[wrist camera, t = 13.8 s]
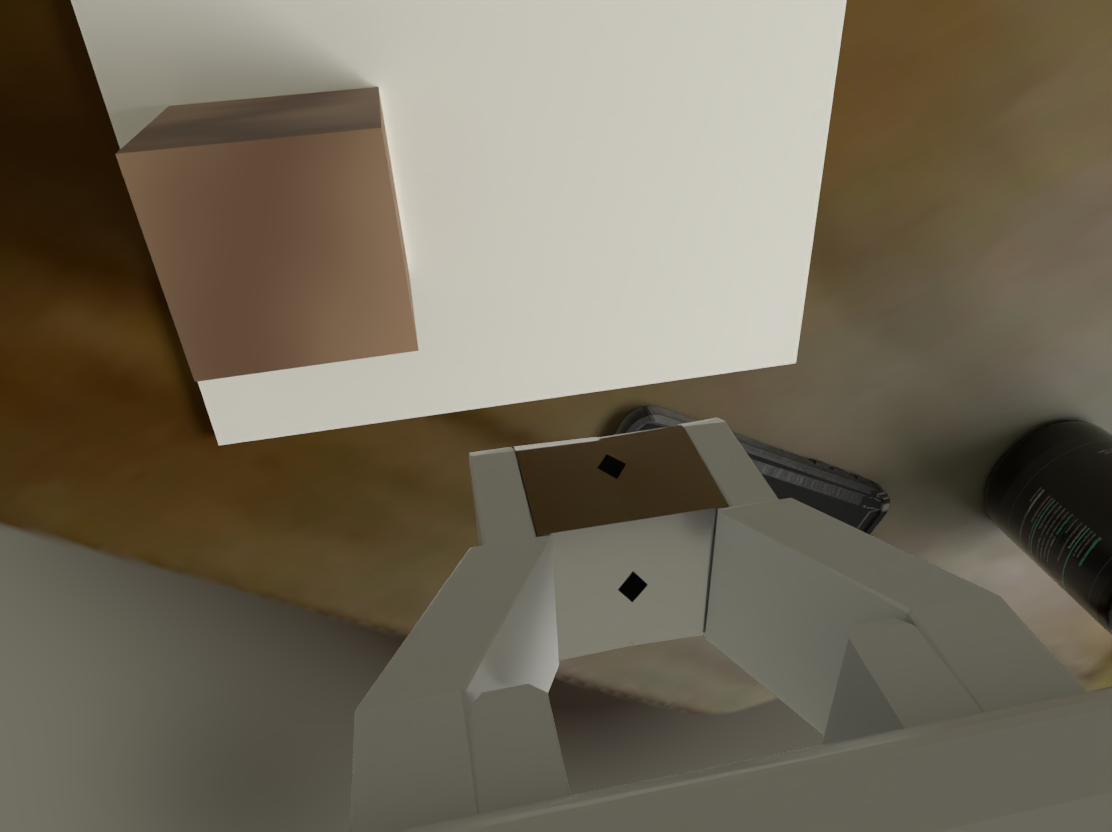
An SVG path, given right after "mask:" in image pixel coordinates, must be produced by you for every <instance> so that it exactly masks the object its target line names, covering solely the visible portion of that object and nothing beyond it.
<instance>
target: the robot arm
mask: <svg viewBox="0 0 1112 832" xmlns="http://www.w3.org/2000/svg"><path fill="white" fill-rule="evenodd" d="M469 464H470V472H471V480H472V488H473V497H474V505H475V513H476V521H477V530H478V538H479V546H477V547H471V548H469V550H468V551H467V552H466V554H465V555H464V557H463V558H462V560H461V561H460V562H459V564H458V565H457V567H456V568H455V569H454V571H453V572H452V574H451V575H450V577H449V578H448V579H447V581H446V582H445V584H444V585H443V587H442V588H441V589H440V591H439V592H438V594H437V595H436V596H435V598H434V599H433V601H432V602H431V604H430V605H429V606H428V608H427V609H426V611H425V612H424V614H423V615H422V616H421V618H420V619H419V621H418V622H417V623H416V625H415V626H414V628H413V629H412V631H411V632H410V633H409V635H408V636H407V638H406V639H405V641H404V642H403V644H402V645H401V646H400V648H399V649H398V650H397V652H396V654H395V655H394V656H393V658H392V659H391V661H390V662H389V663H388V665H387V666H386V668H385V669H384V670H383V672H382V673H381V675H380V676H379V678H378V679H377V680H376V682H375V683H374V685H373V686H372V687H371V689H370V690H369V692H368V693H367V695H366V696H365V697H364V699H363V700H362V702H361V703H360V705H359V706H358V707H357V709H356V710H355V723H354V725H355V726H354V748H353V773H352V799H351V823H350V832H1112V687H1107V688H1102V689H1097V690H1092V691H1087V692H1086V691H1085V690H1084V688H1083V687H1082V686H1081V685H1080V684H1079V683H1078V682H1077V681H1076V680H1075V679H1074V677H1073V676H1072V675H1071V674H1070V673H1069V672H1068V671H1067V670H1066V669H1065V667H1064V666H1063V665H1062V664H1061V663H1060V662H1059V661H1058V660H1057V659H1056V658H1055V656H1054V655H1053V654H1052V653H1051V652H1050V651H1049V650H1048V649H1047V648H1046V646H1045V645H1044V644H1043V643H1042V642H1041V641H1040V640H1039V639H1038V638H1037V637H1036V635H1035V634H1034V633H1033V632H1032V631H1031V630H1030V629H1029V628H1028V627H1027V625H1026V624H1025V623H1024V622H1023V621H1022V620H1021V619H1020V618H1019V617H1018V616H1017V614H1016V613H1015V612H1014V611H1013V610H1012V609H1011V608H1010V607H1009V606H1008V604H1007V603H1006V602H1005V601H1004V600H1003V599H1002V598H1001V597H1000V596H998V595H996V594H994V593H992V592H990V591H988V590H986V589H984V588H982V587H979V586H977V585H975V584H973V583H971V582H969V581H967V580H965V579H962V578H960V577H958V576H956V575H954V574H952V573H950V572H948V571H945V570H943V569H941V568H939V567H937V566H935V565H933V564H931V563H929V562H926V561H924V560H922V559H920V558H918V557H916V556H914V555H912V554H909V553H907V552H905V551H903V550H901V549H899V548H897V547H895V546H892V545H890V544H888V543H886V542H884V541H882V540H880V539H878V538H876V537H873V536H871V535H869V534H867V533H865V532H863V531H861V530H859V529H856V528H854V527H852V526H850V525H848V524H846V523H844V522H842V521H839V520H837V519H835V518H833V517H831V516H829V515H827V514H825V513H823V512H820V511H818V510H816V509H814V508H812V507H810V506H808V505H806V504H803V503H801V502H799V501H797V500H795V499H793V498H786V499H778V498H777V496H776V495H775V493H774V492H773V490H772V489H771V487H770V486H769V485H768V483H767V482H766V480H765V479H764V477H763V476H762V474H761V473H760V472H759V470H758V469H757V467H756V466H755V464H754V463H753V461H752V460H751V459H750V457H749V456H748V454H747V453H746V451H745V450H744V448H743V447H742V446H741V444H740V443H739V441H738V440H737V438H736V437H735V435H734V434H733V433H732V431H731V430H730V428H729V427H728V425H727V424H726V422H725V421H723V420H721V419H719V418H712V419H707V420H701V421H695V422H689V423H683V424H678V425H677V426H671V427H665V428H658V429H652V430H645V431H638V432H632V433H625V434H619V435H612V436H605V437H599V438H598V437H591V438H583V439H574V440H566V441H557V442H549V443H540V444H532V445H523V446H515V447H513V449H512V448H511V447H507V448H499V449H492V450H485V451H478V452H471V453H469ZM699 635H705V639H707V640H708V641H709V642H710V643H712V644H713V645H714V646H715V647H716V648H718V649H719V650H720V651H721V652H723V653H724V654H725V655H726V656H727V657H729V658H730V659H731V660H732V661H734V662H735V663H736V664H737V665H738V666H740V667H741V668H742V669H743V670H745V671H746V672H747V673H748V674H749V675H751V676H752V677H753V678H754V679H756V680H757V681H758V682H759V683H760V684H762V685H763V686H764V687H765V688H767V689H768V690H769V691H770V692H771V693H773V694H774V695H775V696H776V697H778V698H779V699H780V700H781V701H783V702H784V703H785V704H786V705H787V706H789V707H790V708H791V709H792V710H794V711H795V712H796V713H797V714H798V715H800V716H801V717H802V718H803V719H805V720H806V721H807V722H808V723H809V724H811V725H812V726H813V727H814V728H816V729H817V730H818V731H819V732H821V733H822V734H823V735H824V738H823V742H822V745H820V746H815V747H810V748H805V749H800V750H795V751H791V752H785V753H780V754H775V755H770V756H765V757H760V758H756V759H750V760H745V761H741V762H736V763H731V764H726V765H721V766H716V767H711V768H706V769H701V770H696V771H692V772H686V773H681V774H676V775H671V776H666V777H661V778H657V779H651V780H646V781H642V782H636V783H631V784H626V785H621V786H616V787H611V788H607V789H601V790H596V791H592V792H587V793H582V794H577V795H572V796H571V795H570V791H569V786H568V782H567V777H566V773H565V769H564V764H563V759H562V755H561V751H560V746H559V742H558V738H557V733H556V729H555V724H554V720H553V715H552V711H551V706H550V702H549V698H548V691H549V689H550V686H551V684H552V681H553V679H554V676H555V674H556V671H557V669H558V666H559V660H564V659H569V658H573V657H578V656H583V655H588V654H593V653H598V652H603V651H607V650H612V649H617V648H622V647H627V646H631V645H639V644H646V643H652V642H659V641H666V640H672V639H679V638H686V637H692V636H699Z"/></svg>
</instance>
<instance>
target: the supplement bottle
mask: <svg viewBox="0 0 1112 832" xmlns="http://www.w3.org/2000/svg"><path fill="white" fill-rule="evenodd" d="M985 505H986V509H987V512H988V515H989V517H990V518H991V520H992V521H993V522H994V523H995V524H996V525H997V526H998V527H999V528H1000V529H1001V530H1002V531H1003V532H1004V533H1005V534H1006V535H1007V536H1008V537H1009V538H1010V539H1011V540H1012V541H1013V542H1014V543H1015V544H1016V545H1017V546H1018V547H1019V548H1020V549H1021V550H1022V551H1023V552H1025V553H1026V554H1027V555H1028V556H1029V557H1030V558H1031V559H1032V560H1033V561H1034V562H1035V563H1036V564H1037V565H1038V566H1039V567H1040V568H1041V569H1042V570H1044V571H1045V572H1046V573H1047V574H1048V575H1049V576H1050V577H1051V578H1052V579H1053V580H1054V581H1055V582H1056V583H1057V584H1058V585H1059V586H1060V587H1061V588H1063V589H1064V590H1065V591H1066V592H1067V593H1068V594H1069V595H1070V596H1071V597H1072V598H1073V599H1074V600H1075V601H1076V602H1077V603H1078V604H1079V605H1080V606H1082V607H1083V608H1084V609H1085V610H1086V611H1087V612H1088V613H1089V614H1090V615H1091V616H1092V617H1093V618H1094V619H1095V620H1096V621H1097V622H1098V623H1099V624H1101V625H1102V626H1103V627H1104V628H1105V629H1106V630H1107V631H1108V632H1109V633H1111V634H1112V435H1111V434H1110V433H1108V432H1107V431H1105V430H1104V429H1102V428H1100V427H1098V426H1096V425H1094V424H1091V423H1088V422H1082V421H1066V422H1060V423H1055V424H1052V425H1049V426H1046V427H1043V428H1041V429H1039V430H1037V431H1035V432H1033V433H1031V434H1030V435H1028V436H1026V437H1025V438H1023V439H1022V440H1021V441H1019V442H1018V443H1017V444H1015V445H1014V446H1013V447H1012V448H1011V449H1010V450H1009V451H1008V452H1007V453H1006V454H1005V455H1004V456H1003V457H1002V459H1001V460H1000V461H999V462H998V464H997V465H996V467H995V468H994V470H993V472H992V474H991V476H990V478H989V480H988V483H987V487H986V491H985Z"/></svg>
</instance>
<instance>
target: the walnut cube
mask: <svg viewBox="0 0 1112 832" xmlns="http://www.w3.org/2000/svg"><path fill="white" fill-rule="evenodd" d="M115 155H116V157H117V160H118V163H119V166H120V169H121V172H122V175H123V178H124V180H125V183H126V186H127V189H128V192H129V195H130V198H131V201H132V203H133V206H134V209H135V212H136V215H137V218H138V221H139V223H140V226H141V229H142V232H143V235H144V238H145V241H146V244H147V246H148V249H149V252H150V255H151V258H152V261H153V264H154V266H155V269H156V272H157V275H158V278H159V281H160V284H161V287H162V289H163V292H164V295H165V298H166V301H167V304H168V307H169V310H170V312H171V315H172V318H173V321H174V324H175V327H176V330H177V332H178V335H179V338H180V341H181V344H182V347H183V350H184V353H185V355H186V358H187V361H188V364H189V367H190V370H191V373H192V375H193V378H194V381H195V382H198V381H205V380H212V379H219V378H226V377H233V376H241V375H248V374H255V373H262V372H269V371H276V370H283V369H291V368H298V367H305V366H312V365H319V364H326V363H334V362H341V361H348V360H355V359H362V358H369V357H376V356H384V355H391V354H398V353H405V352H412V351H419V350H418V342H417V334H416V326H415V318H414V310H413V302H412V294H411V285H410V277H409V270H408V264H407V258H406V252H405V246H404V240H403V234H402V228H401V222H400V216H399V209H398V203H397V197H396V191H395V185H394V179H393V173H392V167H391V161H390V155H389V148H388V142H387V136H386V130H385V124H384V118H383V112H382V106H381V100H380V93H379V87H366V88H355V89H344V90H333V91H322V92H311V93H300V94H289V95H278V96H267V97H256V98H245V99H234V100H223V101H212V102H201V103H190V104H179V105H173V106H168V107H167V108H166V109H165V110H164V111H163V112H162V113H160V114H159V115H158V116H157V117H156V118H155V119H154V120H153V121H151V122H150V123H149V124H148V125H147V126H146V127H145V128H144V129H143V130H141V131H140V132H139V133H138V134H137V135H136V136H135V137H134V138H132V139H131V140H130V141H129V142H128V143H127V144H126V145H125V146H124V147H122V148H121V149H120V150H119V151H118V152H117V153H116V154H115Z"/></svg>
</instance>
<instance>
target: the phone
mask: <svg viewBox="0 0 1112 832" xmlns="http://www.w3.org/2000/svg"><path fill="white" fill-rule="evenodd" d="M695 421H698V420H695V419H692V418H689V417H686V416H683V415H680V414H678V413H675V412H672V411H669V410H666V409H663V408H660V407H656V406H643V407H640V408H638V409H635V410H634V411H632V412H631V413H629V414H628V415H627V416H626V417H625V419H624V420H623V421H622V423H621V425H620V426H619V428H618V430H617V431H616V433H615V435H619V434H625V433H632V432H638V431H645V430H652V429H658V428H665V427H671V426H677V425H678V424H683V423H689V422H695ZM733 434H734V435H735V437H736V438H737V440H738V441H739V443H740V444H741V446H742V447H743V448H744V450H745V451H746V453H747V454H748V456H749V457H750V459H751V460H752V461H753V463H754V464H755V466H756V467H757V469H758V470H759V472H760V473H761V474H762V476H763V477H764V479H765V480H766V482H767V483H768V485H769V486H770V487H771V489H772V490H773V492H774V493H775V495H776V496H777V498H778V499H786V498H793V499H795V500H797V501H799V502H801V503H803V504H806V505H808V506H810V507H812V508H814V509H816V510H818V511H820V512H823V513H825V514H827V515H829V516H831V517H833V518H835V519H837V520H839V521H842V522H844V523H846V524H848V525H850V526H852V527H854V528H856V529H859V530H861V531H863V532H865V533H867V534H869V535H870V533H871V532H872V531H873V530H874V528H875V527H876V526H877V525H878V523H879V522H880V521H881V520H882V518H883V517H884V516H885V514H886V513H887V511H888V509H889V506H890V498H889V496H888V495H887V493H886V492H885V491H884V490H883V489H882V488H881V487H880V486H879V485H878V484H876V483H875V482H872V481H870V480H867V479H864V478H862V477H860V476H857V475H852V474H849V473H848V472H846V471H843V470H840V469H838V468H835V467H829V466H828V465H827V464H824V463H822V462H819V461H816V460H814V461H812V460H809V459H806V458H804V457H801V456H798V455H795V454H792V453H789V452H786V451H784V450H781V449H778V448H775V447H772V446H769V445H766V444H763V443H761V442H758V441H755V440H752V439H749V438H746V437H743V436H741V435H738V434H735V433H733Z"/></svg>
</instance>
